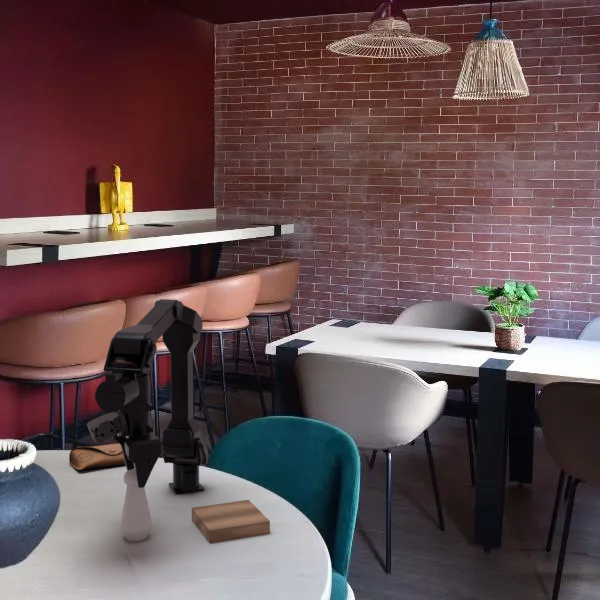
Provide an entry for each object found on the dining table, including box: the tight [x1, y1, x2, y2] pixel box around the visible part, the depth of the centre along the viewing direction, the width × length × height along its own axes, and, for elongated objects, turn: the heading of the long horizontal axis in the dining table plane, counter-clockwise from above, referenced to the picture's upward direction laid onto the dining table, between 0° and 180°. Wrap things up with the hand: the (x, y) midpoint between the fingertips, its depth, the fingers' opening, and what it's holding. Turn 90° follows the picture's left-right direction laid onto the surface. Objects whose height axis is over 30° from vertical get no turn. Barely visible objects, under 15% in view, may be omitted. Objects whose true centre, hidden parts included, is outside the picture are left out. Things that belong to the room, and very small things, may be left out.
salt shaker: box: [120, 468, 153, 542], centre depth 160 cm, size 6×6×13 cm
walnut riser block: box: [191, 499, 271, 544], centre depth 166 cm, size 12×12×3 cm
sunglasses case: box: [68, 442, 126, 471], centre depth 202 cm, size 18×7×7 cm
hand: (135, 479), depth 159 cm, fingers open, 9 cm apart
